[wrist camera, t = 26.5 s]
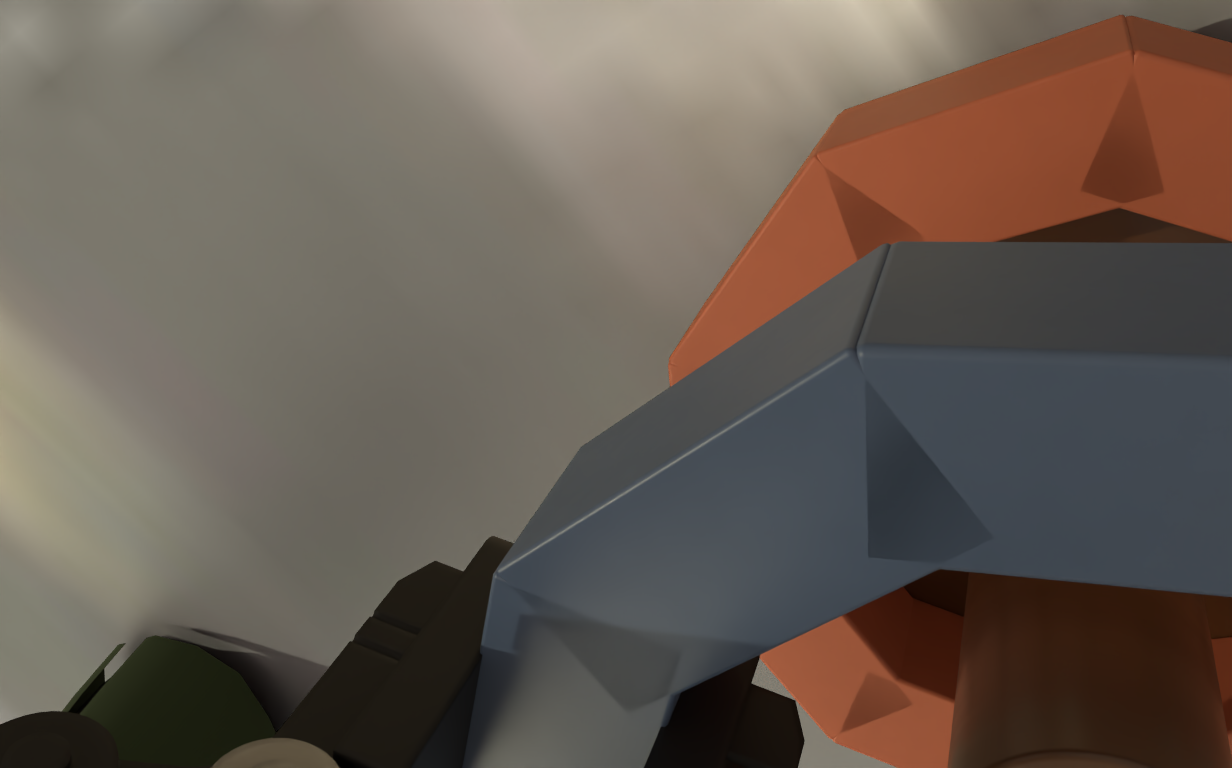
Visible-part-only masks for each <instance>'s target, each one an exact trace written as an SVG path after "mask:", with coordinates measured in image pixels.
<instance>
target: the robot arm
mask: <svg viewBox="0 0 1232 768" xmlns="http://www.w3.org/2000/svg"><path fill="white" fill-rule="evenodd" d="M513 544H514V543H511V542H508V541H506V540H503V539H500V538H498V537H495V536H491V537H490V538H489V539H487V540H486V542H485V543H484V544H483V546H482V547H481V548H480V550H479V551H478V552H477V554H476V555H475V557H474V558H473V559H472V561H471V562H470V563H469V565H468V566H467V568H466V569H465V570H464V572H463V571H460V570H458V569H455V568H453V567H450V566H447V565H445V564H442V563H440V562H437V561H434V562H432V563H430V564H428V565H427V566H425V567H423V568H421V569H419V570H417V571H416V572H414V573H412V574H410V575H408V576H406V577H405V578H403V579H401V580H399V581H398V582H397V583H396V584H395V586H394V587H393V588H392V589H391V591H390V592H389V593H388V594H387V596H386V597H385V598H384V599H383V601H382V602H381V603H380V604H379V606H378V607H377V608H376V609H375V611H374V614H373V616H372V617H369V618H368V619H367V621H366V622H365V623H364V624H363V626H362V627H361V628H360V629H359V631H358V632H357V633H356V635H355V638H354V640H353V641H352V642H351V641H350V642H349V643H348V645H347V646H346V647H345V648H344V650H343V651H342V652H341V653H340V655H339V656H338V657H337V658H336V660H335V661H334V662H333V663H332V665H331V666H330V667H329V668H328V670H327V671H326V672H325V673H324V675H323V676H322V677H321V678H320V680H319V681H318V682H317V683H316V685H315V686H314V687H313V688H312V690H311V691H310V692H309V693H308V695H307V696H306V697H305V698H304V700H303V701H302V702H301V703H300V705H299V706H298V707H297V708H296V710H295V711H294V712H293V713H292V715H291V716H290V717H289V718H288V720H287V721H286V722H285V723H284V725H283V726H282V727H281V728H280V730H279V731H278V732H277V733H276V734H275V735H274V736H273V737H272V738H268V739H262V740H257V741H253V742H250V743H247V744H244V745H242V746H240V747H237V748H235V749H233V750H232V751H230V752H229V753H227V754H225V755H224V756H223V757H221V758H220V759H219V760H218V761H217V762H216V763H214V765H210V766H198V767H189V766H175V765H165V764H156V763H146V762H137V761H128V760H119V754H118V749H117V745H116V742H115V740H114V738H113V736H112V735H111V734H110V733H109V731H108V730H107V729H106V728H105V727H104V726H102V725H101V724H100V723H99V722H97V721H95V720H93V719H91V718H89V717H86V716H83V715H80V714H76V713H70V712H60V711H50V712H39V713H34V714H29V715H25V716H22V717H19V718H16V719H13V720H10V721H8V722H5V723H3V724H0V768H462V766H463V760H464V755H465V749H466V744H467V738H468V732H469V727H470V721H471V716H472V710H473V704H474V699H475V693H476V688H477V682H478V676H479V671H480V665H481V660H482V654H480V647H481V641H482V635H483V630H484V624H485V618H486V612H487V607H488V601H489V595H490V590H491V584H492V578H493V573H494V572H495V570H496V569H497V568H498V566H499V564H500V563H501V562H502V560H503V559H504V557H505V556H506V554H507V553H508V551H509V550H510V549H511V547H512V546H513ZM759 658H760V655H759V656H756V657H754V658H752V659H750V660H748V661H746V662H744V663H742V664H740V665H738V666H735V667H733V668H731V669H729V670H727V671H725V672H723V673H721V674H719V675H717V676H715V677H712V678H710V679H708V680H706V681H704V682H702V683H700V684H698V685H696V686H694V687H691V688H689V689H687V690H685V691H683V692H681V694H680V696H679V699H678V701H677V704H676V706H675V708H674V711H673V713H672V716H671V718H670V721H669V723H668V725H667V726H665V727H661V728H660V730H659V732H658V735H657V737H656V740H655V742H654V745H653V747H652V749H651V752H650V754H649V757H648V759H647V762H646V764H645V767H644V768H798V765H799V761H800V757H801V753H802V749H803V745H804V736H803V732H802V728H801V723H800V719H799V715H798V710H797V706H796V702H795V700H792V699H790V698H787V697H785V696H782V695H780V694H777V693H774V692H772V691H769V690H767V689H764V688H761V687H759V686H756V685H754V684H751V682H752V679H753V676H754V673H755V670H756V667H757V664H758V661H759Z"/></svg>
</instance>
